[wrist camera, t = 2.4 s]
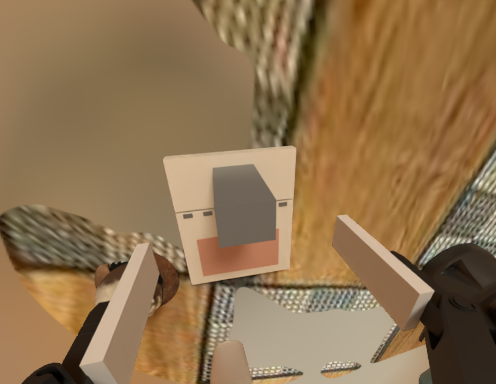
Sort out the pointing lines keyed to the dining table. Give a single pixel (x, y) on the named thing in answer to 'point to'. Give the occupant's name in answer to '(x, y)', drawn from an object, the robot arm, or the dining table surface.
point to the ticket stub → (234, 189)
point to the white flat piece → (232, 247)
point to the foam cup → (230, 364)
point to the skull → (111, 276)
